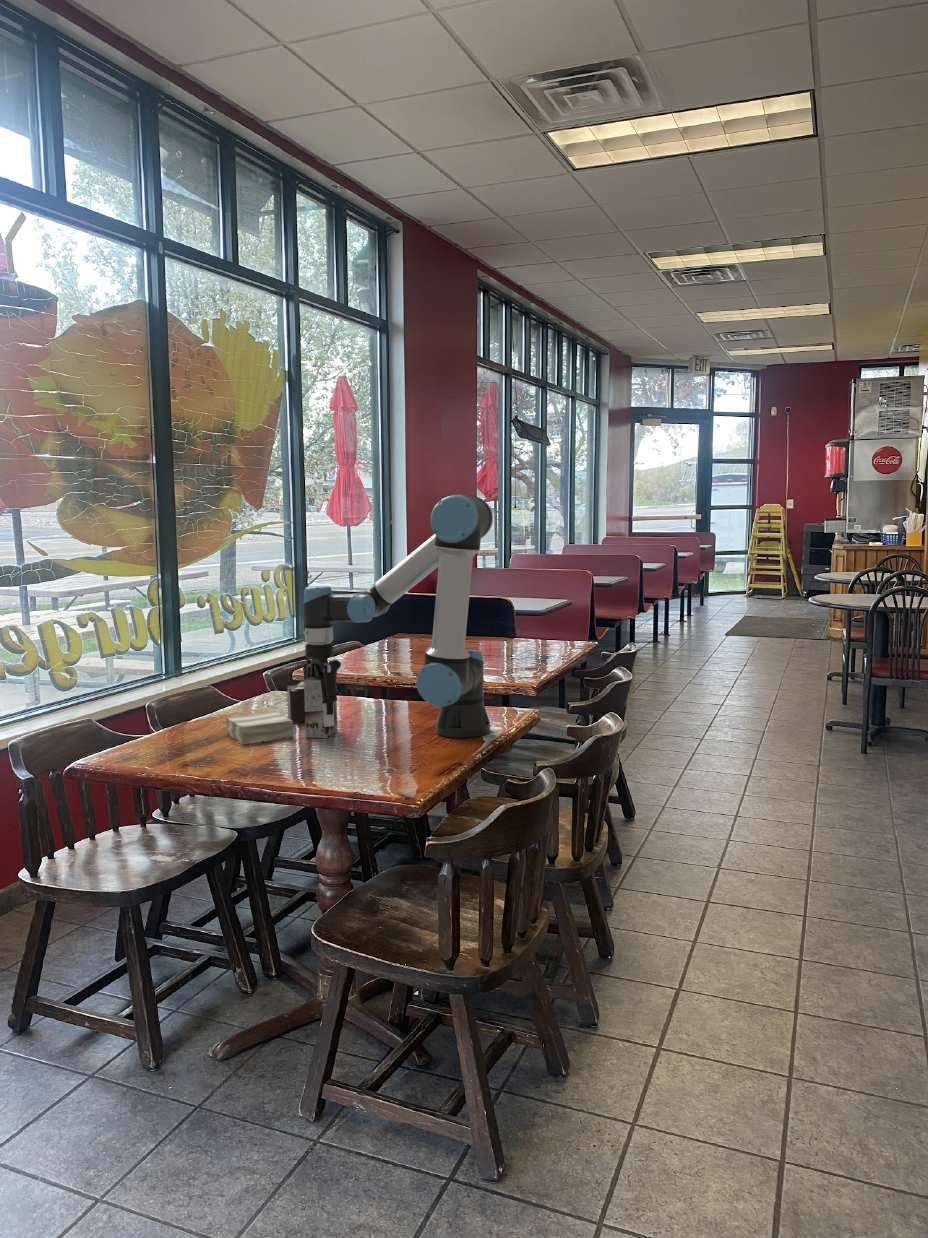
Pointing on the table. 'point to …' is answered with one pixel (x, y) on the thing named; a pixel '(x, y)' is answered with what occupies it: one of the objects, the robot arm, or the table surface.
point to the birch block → (259, 727)
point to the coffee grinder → (302, 695)
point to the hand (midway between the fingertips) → (321, 722)
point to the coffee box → (316, 709)
